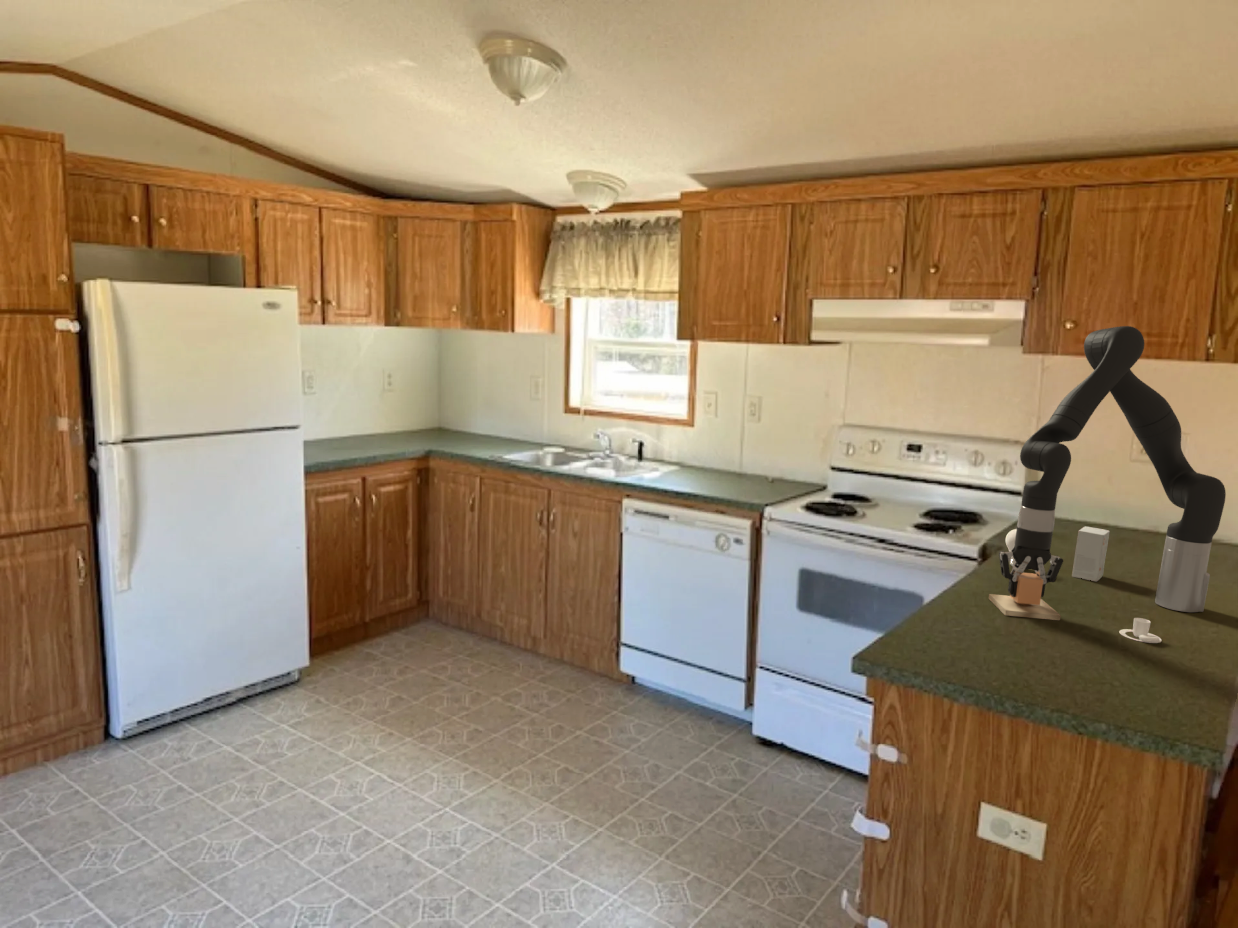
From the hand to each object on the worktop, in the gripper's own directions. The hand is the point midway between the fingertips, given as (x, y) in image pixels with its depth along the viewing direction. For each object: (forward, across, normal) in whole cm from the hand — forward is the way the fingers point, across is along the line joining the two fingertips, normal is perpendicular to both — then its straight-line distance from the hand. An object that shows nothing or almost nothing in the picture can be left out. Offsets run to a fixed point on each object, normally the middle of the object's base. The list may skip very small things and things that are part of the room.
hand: (1025, 596), depth 196 cm
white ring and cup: (+4, -18, +14) cm, 23 cm away
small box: (+3, -29, -36) cm, 46 cm away
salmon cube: (+1, 0, 0) cm, 1 cm away
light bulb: (+3, -11, -39) cm, 41 cm away
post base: (+3, 0, 0) cm, 3 cm away
